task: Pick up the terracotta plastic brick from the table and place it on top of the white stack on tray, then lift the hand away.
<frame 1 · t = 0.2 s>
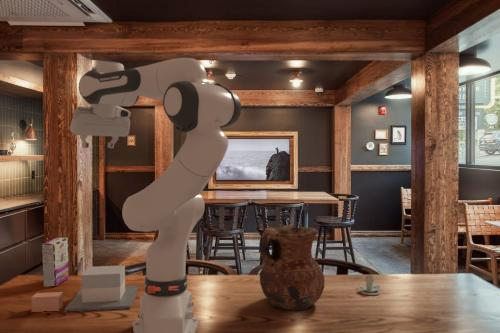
hand: (98, 147, 141), 52 cm above the table, tool tilted 20°, fingers open, 8 cm apart
white stack on tray: (104, 299, 138), on the table
terracotta brick: (47, 310, 129), on the table
candy bar box: (56, 283, 156), on the table
pacifier: (369, 293, 145), on the table
jug: (291, 304, 135), on the table
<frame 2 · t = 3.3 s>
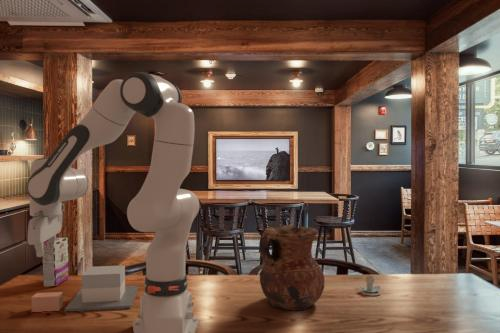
hand: (45, 252, 129), 18 cm above the table, tool pointing down, fingers open, 8 cm apart
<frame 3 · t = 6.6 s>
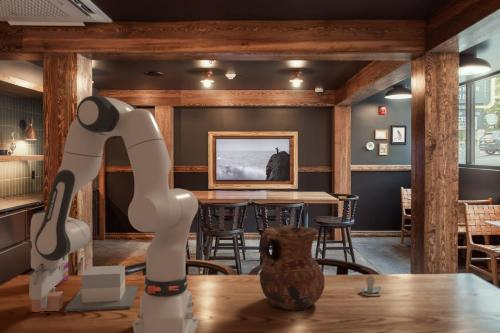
hand: (47, 303, 129), 2 cm above the table, tool pointing down, fingers closed on terracotta brick, 4 cm apart
terracotta brick: (47, 309, 129), on the table, touching gripper
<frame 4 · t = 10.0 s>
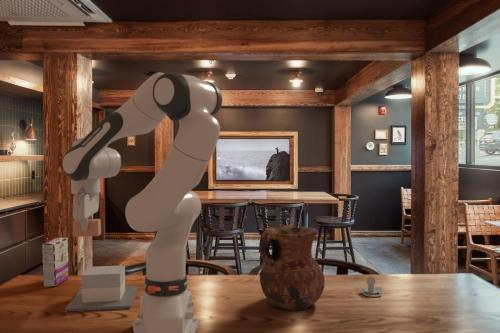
hand: (87, 229, 134), 24 cm above the table, tool pointing down, fingers closed on terracotta brick, 4 cm apart
terracotta brick: (87, 235, 135), point 23 cm above the table, touching gripper
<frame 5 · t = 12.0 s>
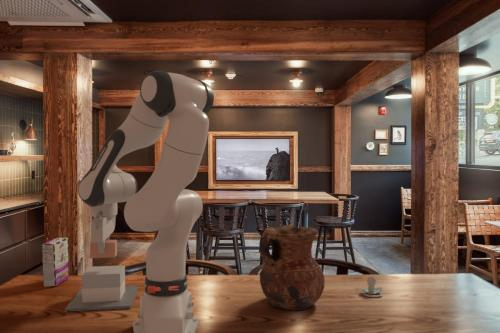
hand: (103, 250, 138), 17 cm above the table, tool pointing down, fingers closed on terracotta brick, 4 cm apart
terracotta brick: (103, 256, 138), point 15 cm above the table, touching gripper
when the fingers open (13 cm above the table, at t = 13.5 s): terracotta brick drops 1 cm, resting on white stack on tray.
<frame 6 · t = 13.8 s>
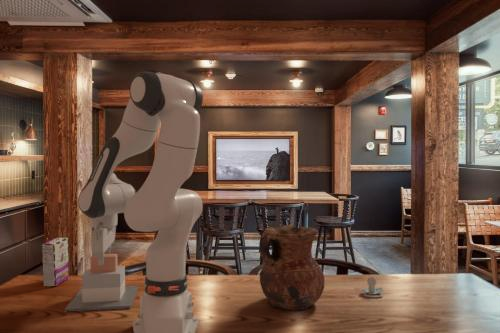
hand: (104, 261, 138), 13 cm above the table, tool pointing down, fingers open, 7 cm apart
terracotta brick: (104, 270, 138), point 10 cm above the table, touching white stack on tray
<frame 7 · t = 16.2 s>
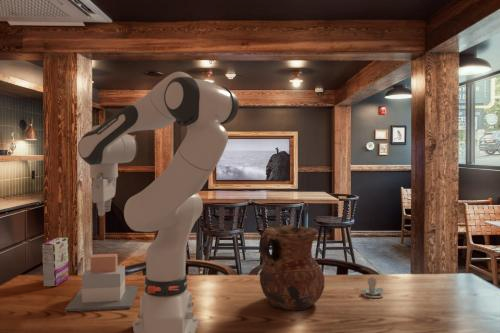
hand: (104, 213, 138), 29 cm above the table, tool pointing down, fingers open, 8 cm apart
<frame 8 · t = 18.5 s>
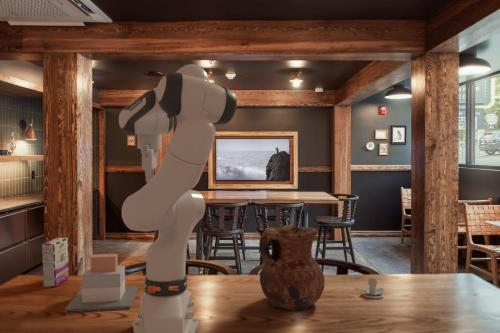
hand: (149, 181, 153), 39 cm above the table, tool pointing down, fingers open, 8 cm apart
at the end: terracotta brick 0.0 cm off-centre on the white stack on tray, point 10.0 cm above the white stack on tray's base; terracotta brick tilted 0°; the gripper is holding nothing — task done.
